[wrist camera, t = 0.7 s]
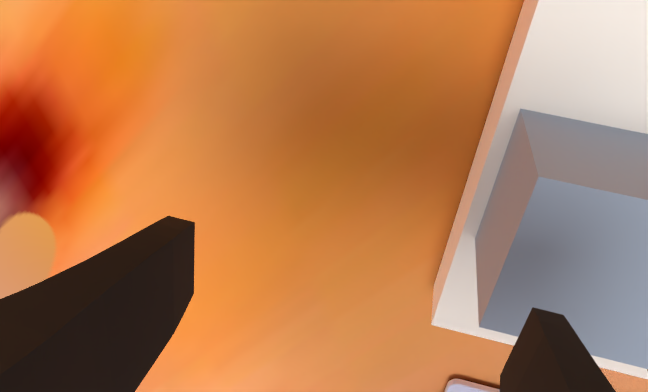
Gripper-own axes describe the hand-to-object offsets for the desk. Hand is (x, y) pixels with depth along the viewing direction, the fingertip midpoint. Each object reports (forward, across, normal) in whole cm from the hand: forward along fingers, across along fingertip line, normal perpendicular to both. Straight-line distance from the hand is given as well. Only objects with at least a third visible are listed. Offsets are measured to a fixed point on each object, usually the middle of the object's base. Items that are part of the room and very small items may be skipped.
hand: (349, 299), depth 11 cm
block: (+8, -6, 0) cm, 10 cm away
